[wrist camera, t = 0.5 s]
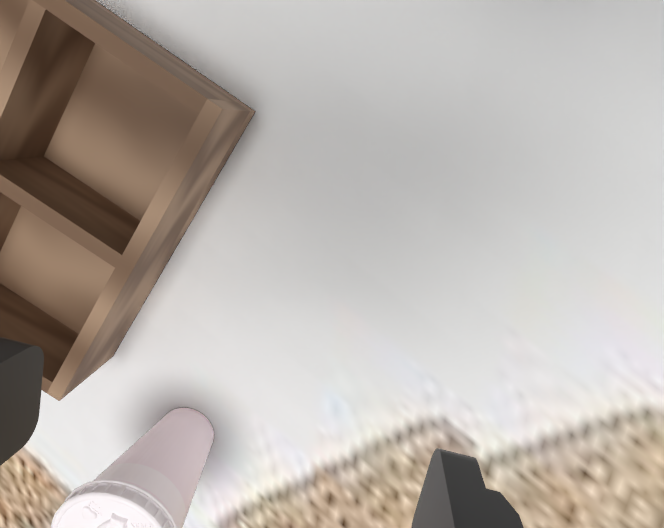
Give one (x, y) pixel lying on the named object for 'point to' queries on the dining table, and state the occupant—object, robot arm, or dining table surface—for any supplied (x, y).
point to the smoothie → (145, 479)
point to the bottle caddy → (95, 175)
